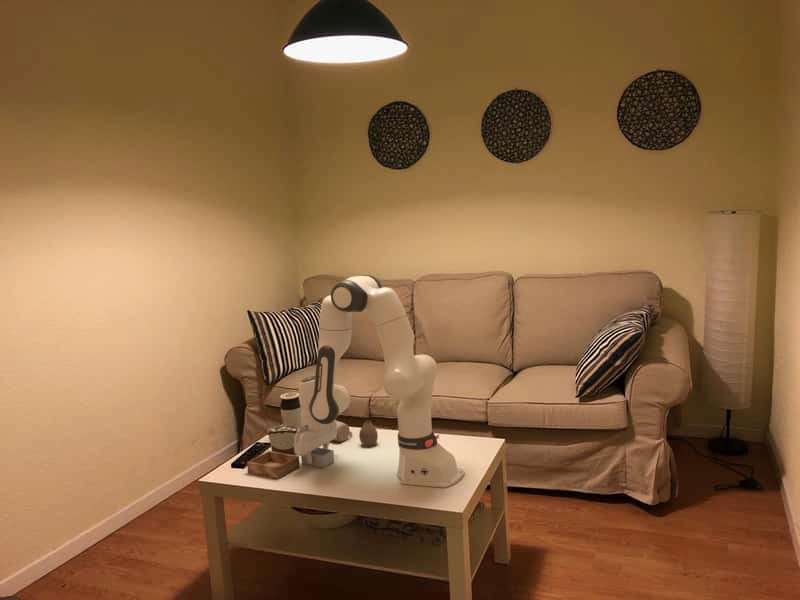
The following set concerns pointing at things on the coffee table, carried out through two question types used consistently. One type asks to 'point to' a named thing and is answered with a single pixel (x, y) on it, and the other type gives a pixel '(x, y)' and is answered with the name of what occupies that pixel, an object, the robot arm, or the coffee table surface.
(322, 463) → the small crate
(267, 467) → the big crate
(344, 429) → the ceramic mug
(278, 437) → the food container
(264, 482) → the coffee table surface
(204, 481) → the coffee table surface
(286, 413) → the travel mug
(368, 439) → the vase
